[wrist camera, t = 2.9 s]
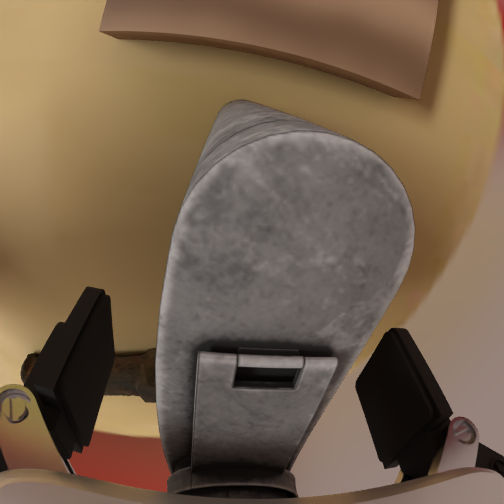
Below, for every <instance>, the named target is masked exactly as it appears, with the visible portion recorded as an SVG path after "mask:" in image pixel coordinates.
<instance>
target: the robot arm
mask: <svg viewBox="0 0 504 504" xmlns="http://www.w3.org/2000/svg"><path fill="white" fill-rule="evenodd" d="M114 360H115V349H114V340H113V329H112V316H111V300H110V296H109V295H105V291H104V290H103V289H98V288H93V287H86V288H85V290H84V292H83V293H82V295H81V297H80V298H79V300H78V302H77V303H76V305H75V307H74V308H73V310H72V312H71V314H70V315H69V317H68V319H67V321H66V322H65V323H63V322H59V323H58V324H57V325H56V326H55V328H54V330H53V331H52V333H51V335H50V337H49V338H48V340H47V342H46V344H45V346H44V347H43V349H42V351H41V353H40V355H39V357H38V359H37V360H36V362H35V364H34V366H33V368H32V370H31V372H30V374H29V376H28V378H27V380H26V382H25V384H24V386H22V385H17V384H10V385H5V386H3V387H1V388H0V504H504V457H503V456H502V455H500V454H499V453H496V452H495V451H493V450H491V449H490V448H488V447H486V446H485V445H483V444H481V443H479V433H478V429H477V428H476V426H475V425H474V424H473V423H472V421H470V420H469V419H467V418H465V417H455V418H454V419H452V421H450V419H449V417H450V416H451V415H452V414H453V412H452V410H451V408H450V406H449V404H448V402H447V400H446V398H445V396H444V394H443V392H442V390H441V388H440V387H439V385H438V383H437V381H436V379H435V377H434V375H433V374H432V372H431V370H430V368H429V366H428V365H427V363H426V361H425V359H424V358H423V356H422V354H421V352H420V351H419V349H418V347H417V345H416V344H415V342H414V340H413V339H412V337H411V335H410V334H409V332H408V331H407V330H406V329H403V328H391V329H390V330H389V331H388V332H386V333H385V334H384V336H383V337H382V339H381V341H380V343H379V344H378V346H377V348H376V349H375V351H374V353H373V354H372V356H371V358H370V359H369V361H368V363H367V364H366V366H365V367H364V369H363V371H362V372H361V374H360V375H359V377H358V379H357V381H356V386H355V387H356V391H357V394H358V397H359V400H360V402H361V406H362V409H363V411H364V414H365V418H366V421H367V424H368V427H369V430H370V433H371V436H372V439H373V442H374V445H375V449H376V452H377V455H378V458H379V460H380V461H381V462H383V465H384V469H387V468H393V467H397V466H398V465H400V468H401V469H400V472H399V474H398V476H397V478H396V481H395V483H394V484H392V485H388V486H383V487H378V488H372V489H367V490H361V491H355V492H349V493H341V494H333V495H324V496H314V497H301V498H283V499H230V498H212V497H200V496H190V495H181V494H173V493H165V492H159V491H152V490H146V489H140V488H135V487H129V486H124V485H120V484H114V483H111V482H106V481H102V480H97V479H92V478H88V477H84V476H79V475H76V474H75V472H74V470H73V468H72V466H71V464H70V463H69V460H68V459H70V458H71V456H72V452H73V451H76V452H79V453H82V450H83V446H89V444H90V441H91V437H92V433H93V430H94V426H95V423H96V419H97V416H98V412H99V409H100V406H101V402H102V399H103V396H104V393H105V389H106V386H107V383H108V380H109V377H110V374H111V371H112V368H113V365H114Z"/></svg>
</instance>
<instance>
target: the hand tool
mask: <svg viewBox="0 0 504 504" xmlns="http://www.w3.org/2000/svg"><path fill="white" fill-rule="evenodd" d="M37 359H38V356H37V355H36V354H35V353H32V354H28V355H27V358H26V359H25V361H24V363H23V365H22V367H21V379H22V381H23V383H24V384H25V382H26V380H27V378H28V376H29V374H30V372H31V370H32V368H33V366H34V364H35V362H36V360H37ZM155 359H156V348H153V349H148V351H147V352H146V354H142V355H138V356H129V357H115V360H114V365H113V368H112V371H111V374H110V377H109V380H108V383H107V386H106V389H105V393H104V395H110V396H112V395H123V396H125V395H127V396H131V395H135V396H140V397H141V398H142V399H143V400H144V401H145V402H152V403H155V402H156V380H155Z"/></svg>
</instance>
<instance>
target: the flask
mask: <svg viewBox="0 0 504 504" xmlns="http://www.w3.org/2000/svg"><path fill="white" fill-rule="evenodd" d="M414 237H415V224H414V217H413V210H412V205H411V203H410V200H409V197H408V195H407V192H406V190H405V187H404V185H403V184H402V182H401V181H400V179H399V178H398V176H397V175H396V173H395V172H394V171H393V169H392V168H391V167H390V166H389V165H388V164H387V163H386V162H385V161H384V160H383V159H382V158H380V157H379V156H378V155H377V154H376V153H375V152H374V151H372V150H370V149H368V148H367V147H365V146H363V145H361V144H359V143H358V142H356V141H354V140H352V139H350V138H348V137H345V136H343V135H341V134H338V133H336V132H333V131H331V130H328V129H326V128H324V127H321V126H319V125H316V124H313V123H311V122H308V121H306V120H303V119H300V118H298V117H295V116H292V115H289V114H287V113H284V112H281V111H278V110H275V109H272V108H269V107H266V106H263V105H260V104H257V103H254V102H251V101H247V100H235V101H232V102H229V103H227V104H226V105H225V106H223V107H222V108H221V110H220V111H219V113H218V115H217V117H216V120H215V122H214V124H213V127H212V129H211V131H210V134H209V136H208V139H207V141H206V144H205V146H204V148H203V151H202V153H201V156H200V158H199V161H198V163H197V166H196V169H195V171H194V174H193V176H192V179H191V182H190V184H189V187H188V189H187V192H186V195H185V198H184V200H183V203H182V206H181V208H180V211H179V214H178V217H177V220H176V223H175V226H174V229H173V233H172V238H171V243H170V248H169V254H168V260H167V265H166V271H165V277H164V283H163V290H162V296H161V303H160V311H159V322H158V333H157V345H156V359H155V380H156V406H157V416H158V425H159V433H160V437H161V442H162V446H163V451H164V455H165V458H166V461H167V464H168V467H169V470H170V472H171V476H170V477H169V478H168V480H167V486H168V488H167V489H168V490H167V493H173V494H181V495H190V496H200V497H212V498H230V499H283V498H299V497H298V494H297V491H296V485H295V477H294V475H293V474H292V473H291V472H290V470H291V468H292V466H293V464H294V462H295V460H296V458H297V456H298V454H299V452H300V450H301V449H302V447H303V445H304V443H305V442H306V440H307V438H308V436H309V435H310V433H311V431H312V430H313V428H314V426H315V425H316V423H317V421H318V420H319V418H320V417H321V415H322V413H323V412H324V410H325V408H326V407H327V405H328V403H329V402H330V401H331V399H332V397H333V396H334V394H335V392H336V391H337V389H338V388H339V386H340V384H341V383H342V381H343V379H344V378H345V376H346V375H347V373H348V371H349V370H350V368H351V367H352V365H353V364H354V362H355V360H356V359H357V357H358V356H359V354H360V352H361V351H362V349H363V348H364V346H365V344H366V343H367V341H368V339H369V338H370V336H371V334H372V333H373V331H374V330H375V328H376V326H377V325H378V323H379V321H380V320H381V318H382V317H383V315H384V313H385V312H386V310H387V308H388V306H389V305H390V303H391V301H392V300H393V298H394V296H395V294H396V293H397V291H398V289H399V287H400V285H401V283H402V281H403V279H404V277H405V275H406V273H407V270H408V268H409V265H410V261H411V257H412V253H413V249H414Z"/></svg>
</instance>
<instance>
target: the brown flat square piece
mask: <svg viewBox="0 0 504 504" xmlns="http://www.w3.org/2000/svg"><path fill="white" fill-rule="evenodd" d="M438 1H439V0H107V2H106V6H105V9H104V13H103V17H102V21H101V25H100V29H99V31H100V32H102V33H105V34H107V35H110V36H112V37H114V38H117V39H140V40H158V41H171V42H181V43H190V44H198V45H206V46H213V47H220V48H226V49H232V50H237V51H243V52H248V53H253V54H258V55H263V56H267V57H272V58H276V59H280V60H284V61H288V62H292V63H296V64H300V65H303V66H307V67H311V68H314V69H318V70H321V71H324V72H327V73H331V74H334V75H337V76H340V77H343V78H346V79H349V80H352V81H355V82H357V83H360V84H363V85H366V86H368V87H371V88H374V89H376V90H379V91H381V92H384V93H386V94H389V95H391V96H394V97H401V98H409V99H416V100H420V96H421V92H422V88H423V84H424V79H425V75H426V70H427V65H428V61H429V56H430V50H431V45H432V40H433V34H434V28H435V22H436V15H437V8H438Z"/></svg>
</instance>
